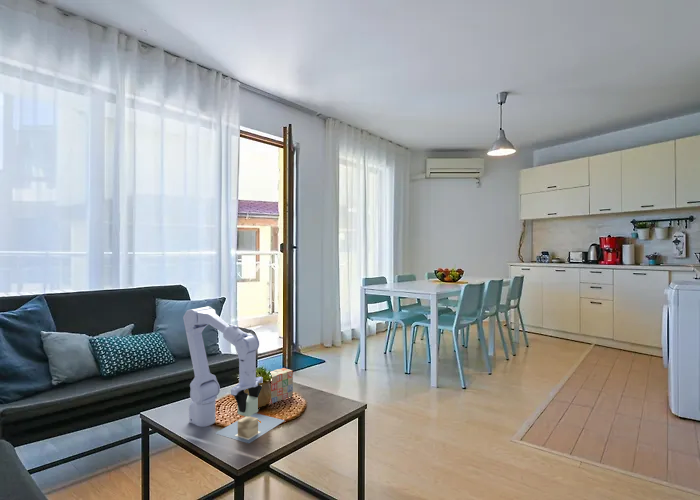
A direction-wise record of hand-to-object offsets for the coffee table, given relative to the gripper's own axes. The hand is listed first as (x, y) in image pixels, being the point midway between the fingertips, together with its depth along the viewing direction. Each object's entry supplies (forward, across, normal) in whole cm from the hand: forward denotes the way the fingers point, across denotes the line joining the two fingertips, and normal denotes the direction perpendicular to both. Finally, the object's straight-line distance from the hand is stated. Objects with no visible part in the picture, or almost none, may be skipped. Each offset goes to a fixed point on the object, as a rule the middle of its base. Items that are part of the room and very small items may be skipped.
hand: (247, 408), depth 141 cm
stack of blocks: (+10, +28, +13) cm, 32 cm away
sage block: (+1, 0, 0) cm, 1 cm away
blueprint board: (+10, +5, +3) cm, 11 cm away
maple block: (+9, 0, 0) cm, 9 cm away
